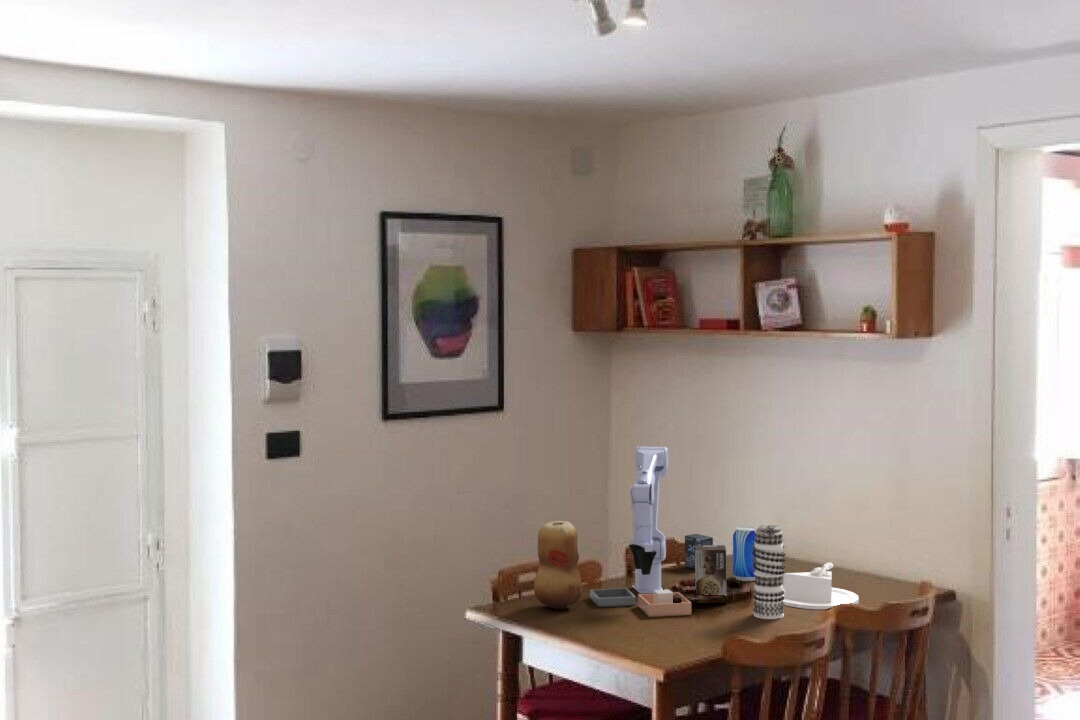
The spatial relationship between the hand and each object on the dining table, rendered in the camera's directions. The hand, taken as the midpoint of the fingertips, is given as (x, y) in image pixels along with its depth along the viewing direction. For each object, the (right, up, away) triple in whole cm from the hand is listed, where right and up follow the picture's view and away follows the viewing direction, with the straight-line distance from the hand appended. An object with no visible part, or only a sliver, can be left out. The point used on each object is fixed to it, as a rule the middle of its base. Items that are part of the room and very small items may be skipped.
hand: (642, 571), depth 361 cm
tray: (-9, -9, +3) cm, 13 cm away
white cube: (+5, -9, -8) cm, 13 cm away
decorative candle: (+34, -10, -14) cm, 38 cm away
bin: (+6, -10, -8) cm, 14 cm away
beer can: (+35, -8, +31) cm, 48 cm away
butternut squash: (-25, -10, -4) cm, 27 cm away
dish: (+51, -9, +4) cm, 52 cm away
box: (+22, -7, +47) cm, 53 cm away
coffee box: (+20, -9, +2) cm, 22 cm away
